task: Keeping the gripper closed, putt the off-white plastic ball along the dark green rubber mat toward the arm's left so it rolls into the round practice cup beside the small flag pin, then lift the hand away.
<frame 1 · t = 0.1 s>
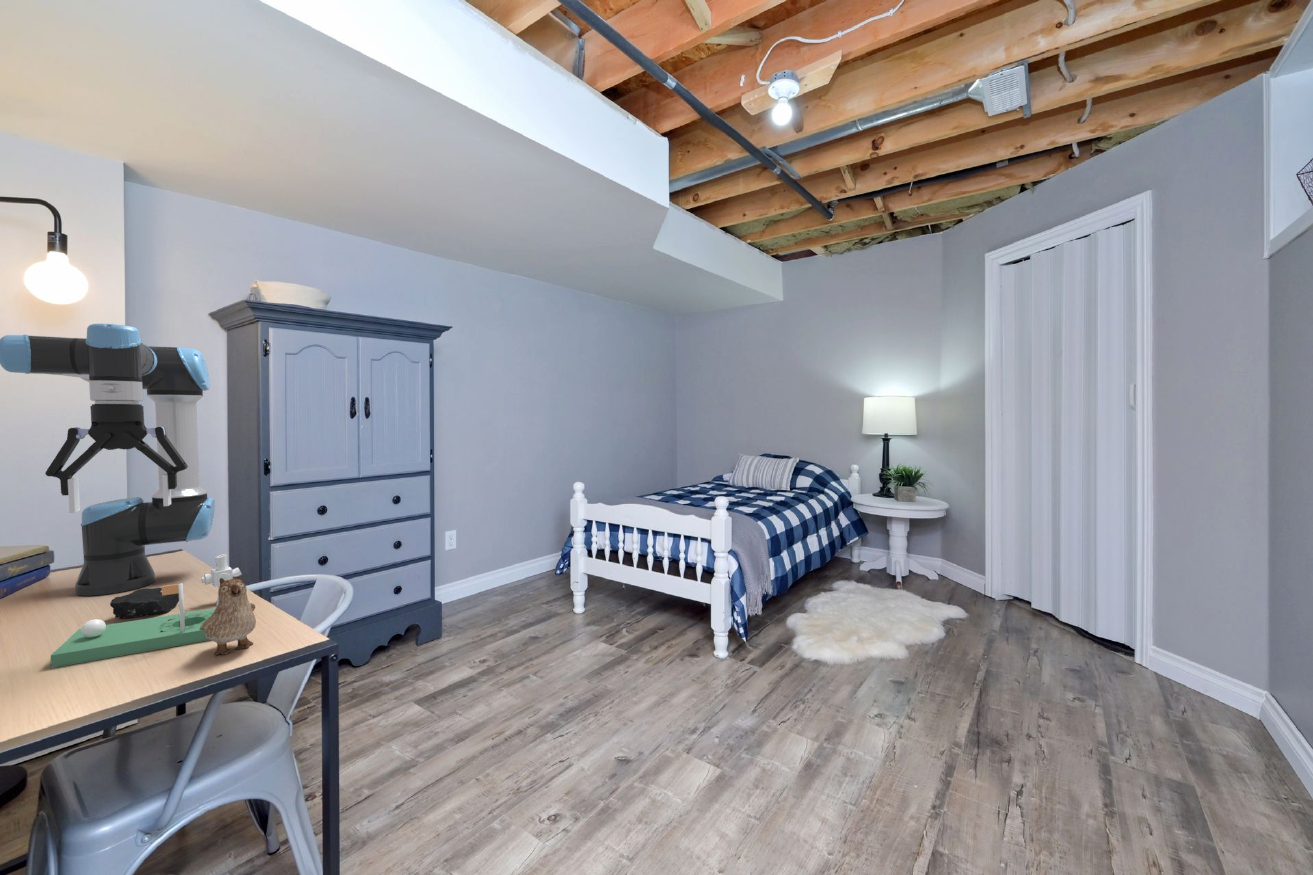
hand: (122, 508, 109), 28 cm above the table, fingers open, 13 cm apart
rock: (147, 615, 126), on the table
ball: (93, 628, 108), point 4 cm above the table, touching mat
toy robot: (223, 603, 134), on the table
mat: (148, 639, 112), on the table
figurine: (230, 651, 107), on the table
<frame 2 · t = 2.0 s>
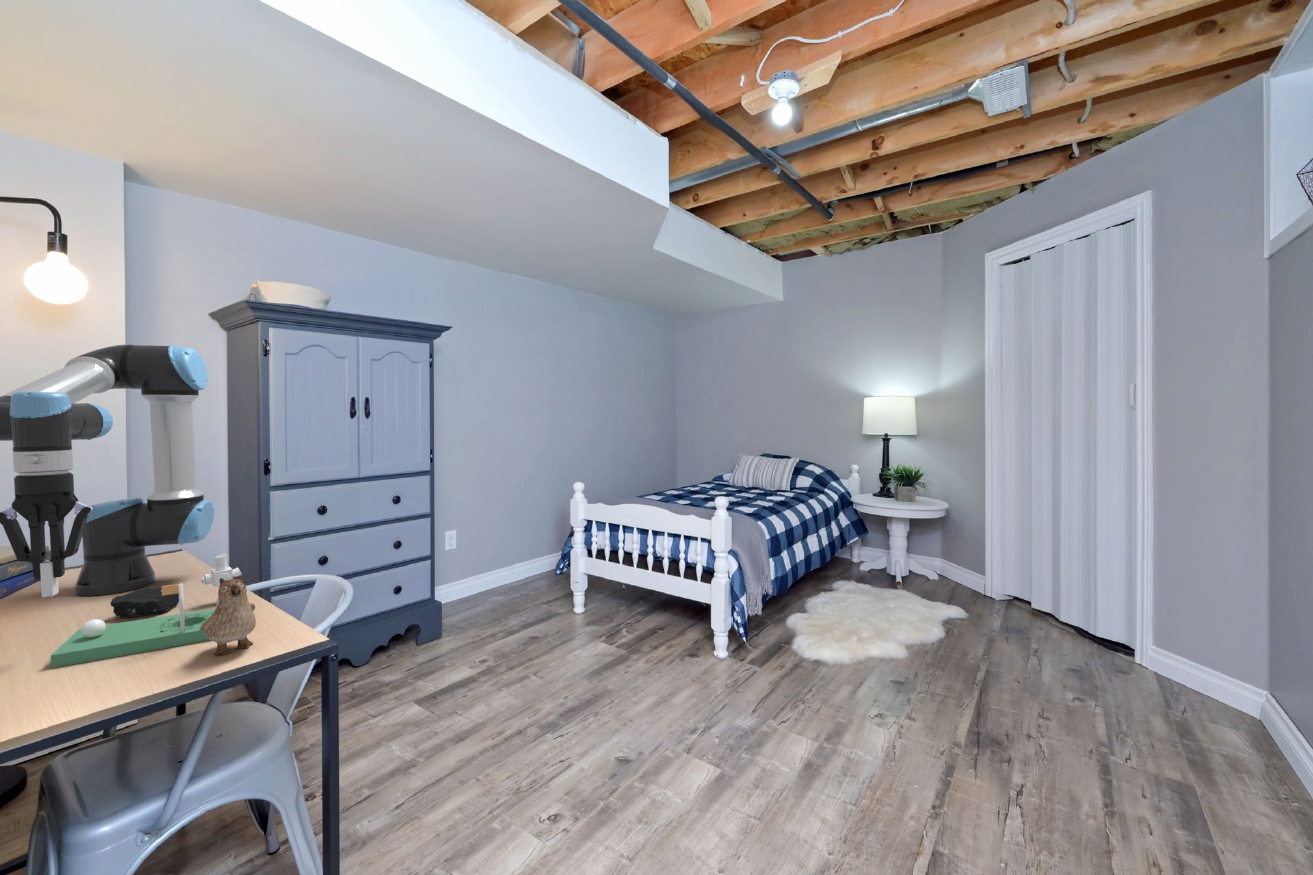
hand: (50, 594, 104), 12 cm above the table, fingers closed
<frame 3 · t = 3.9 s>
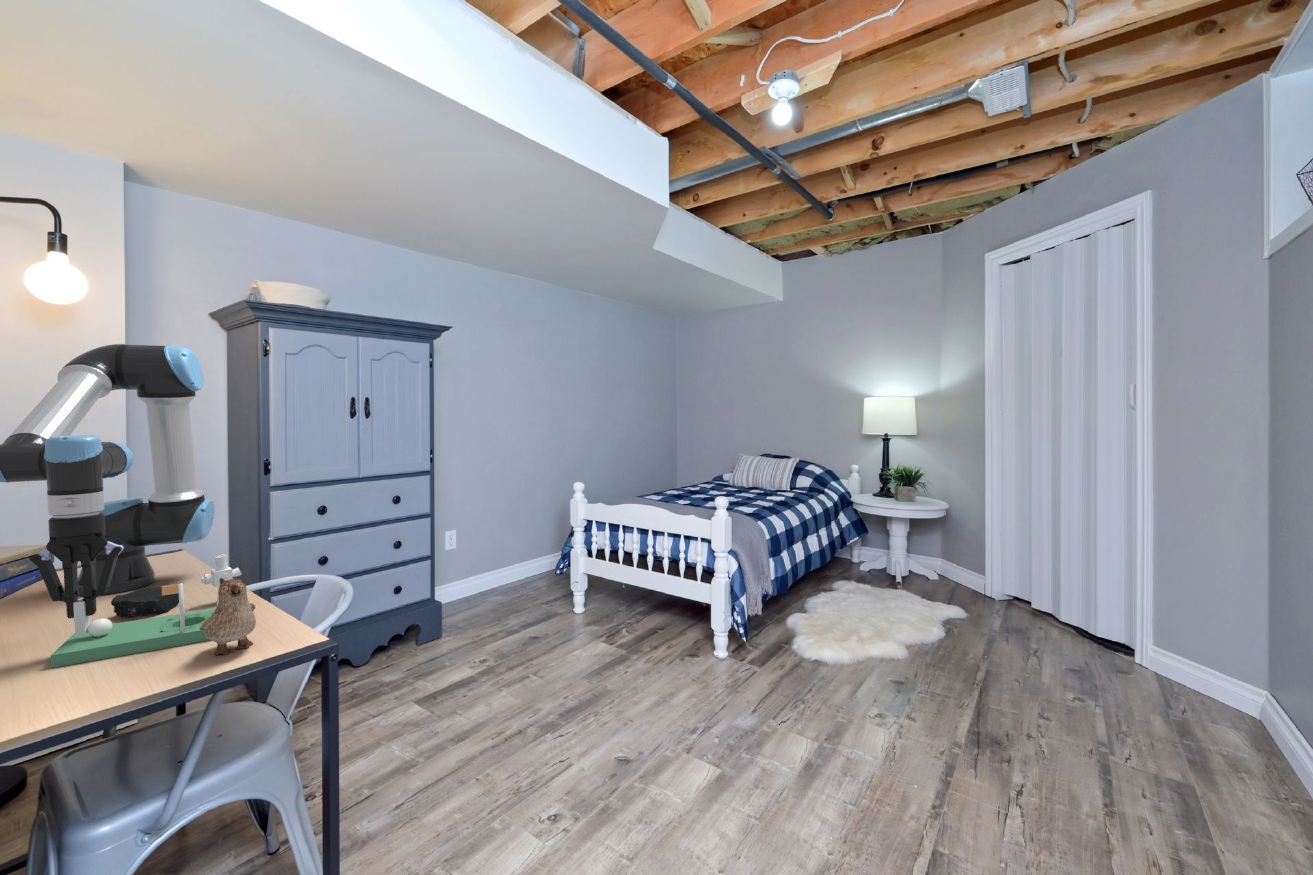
hand: (82, 632, 107), 4 cm above the table, fingers closed
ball: (100, 627, 108), point 4 cm above the table, tilted 29°, touching gripper, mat
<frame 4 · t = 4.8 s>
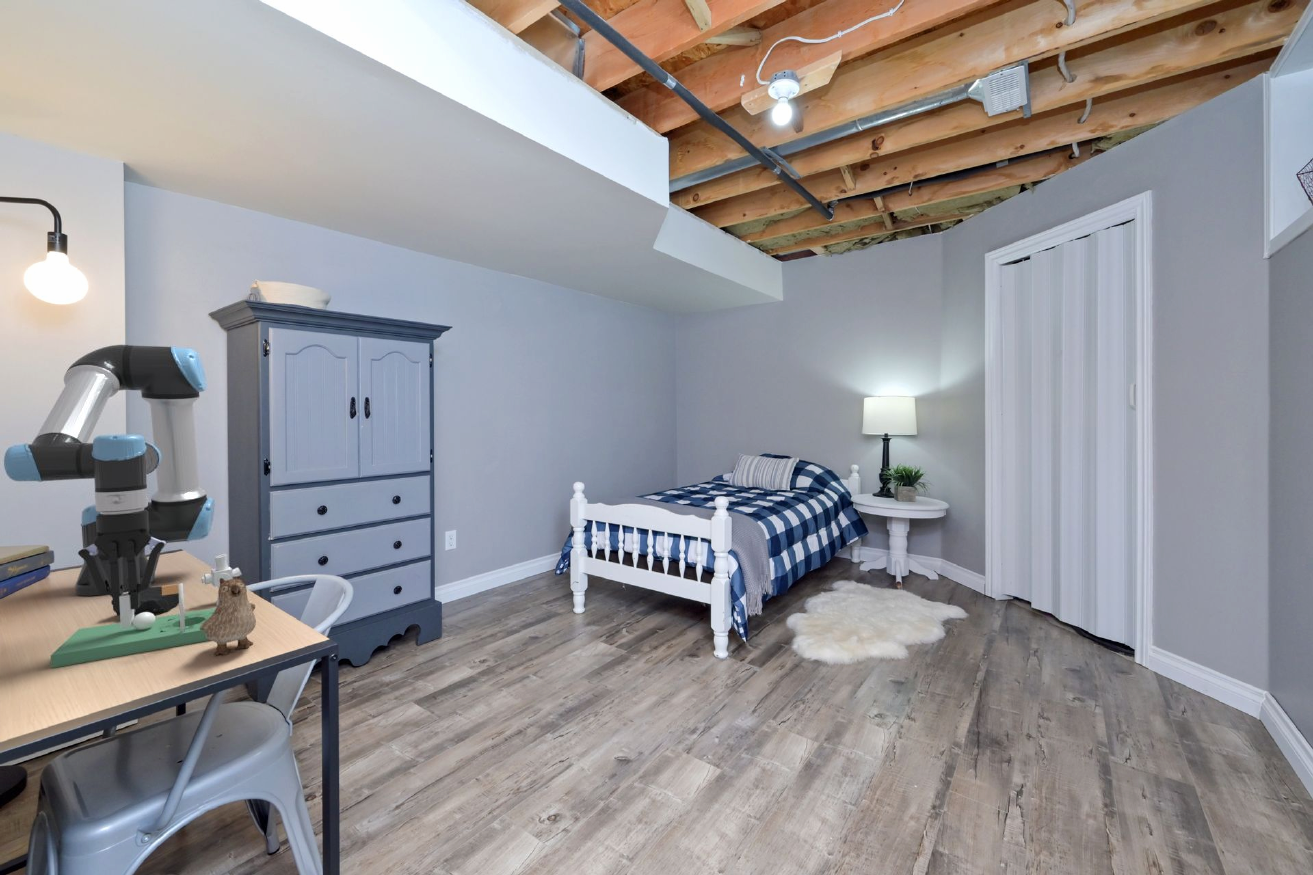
hand: (127, 625, 110), 4 cm above the table, fingers closed
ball: (144, 620, 112), point 4 cm above the table, tilted 152°, touching gripper, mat
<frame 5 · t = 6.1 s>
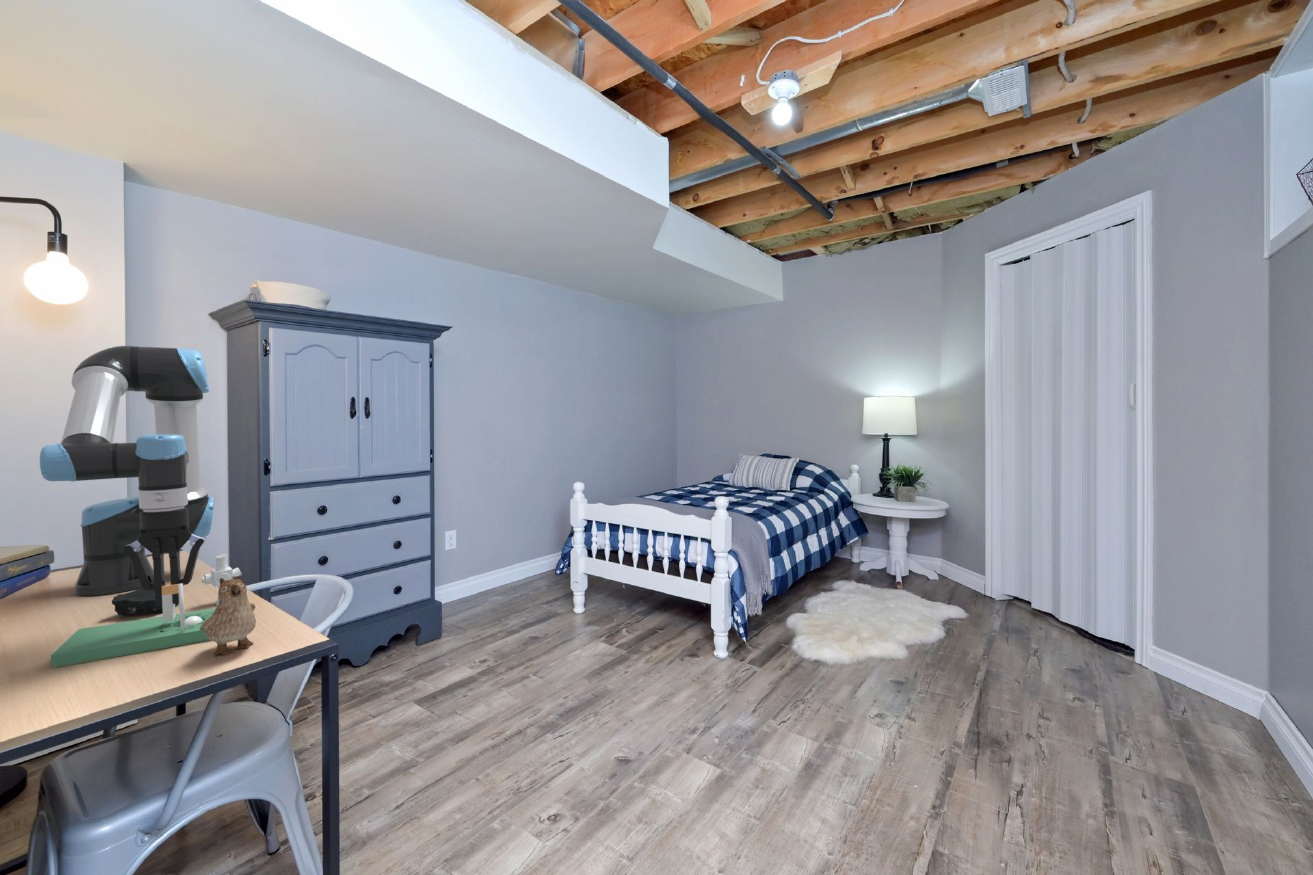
hand: (169, 619, 114), 4 cm above the table, fingers closed
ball: (192, 624, 116), point 2 cm above the table, tilted 106°
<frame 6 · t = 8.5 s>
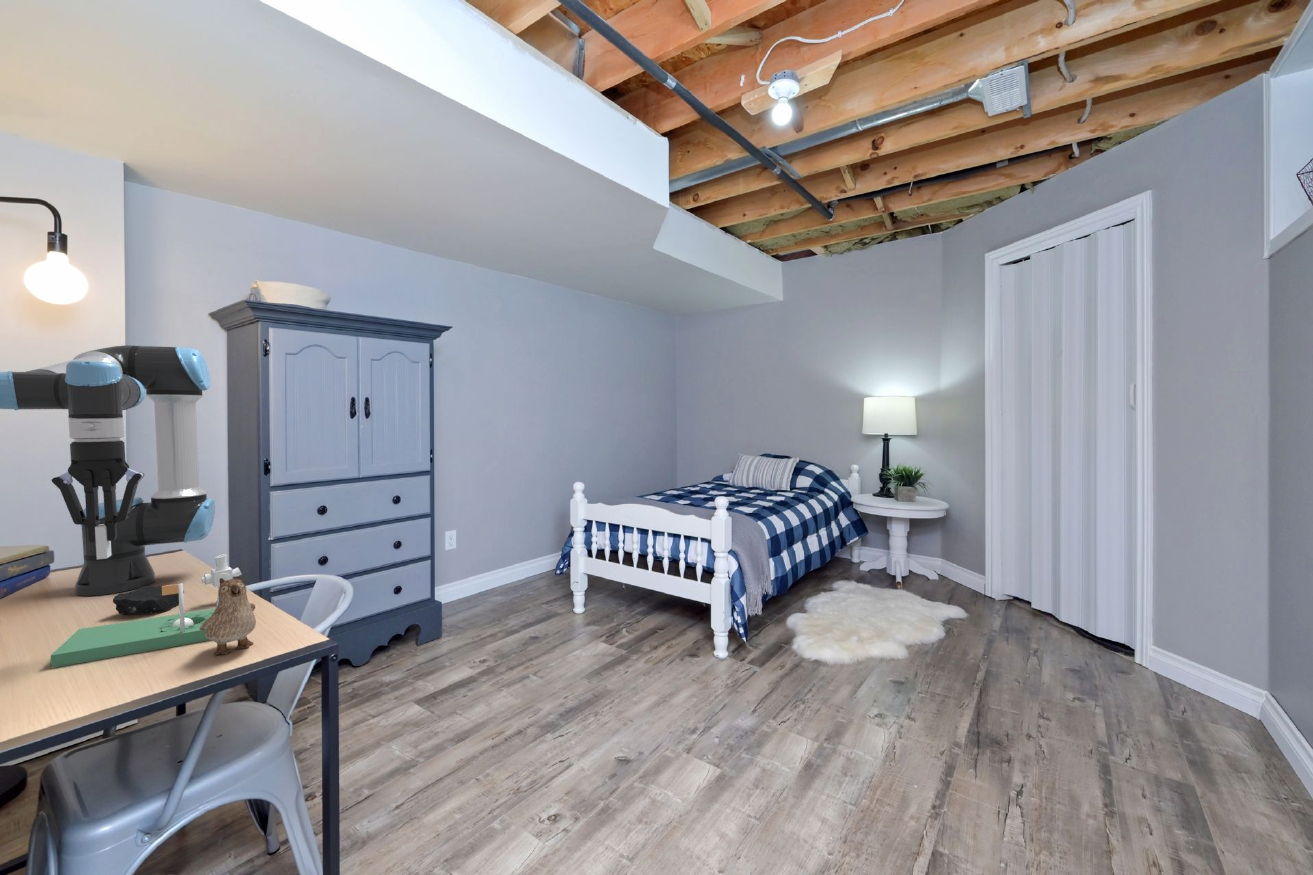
hand: (104, 557, 108), 18 cm above the table, fingers closed
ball: (182, 626, 115), point 2 cm above the table, tilted 54°
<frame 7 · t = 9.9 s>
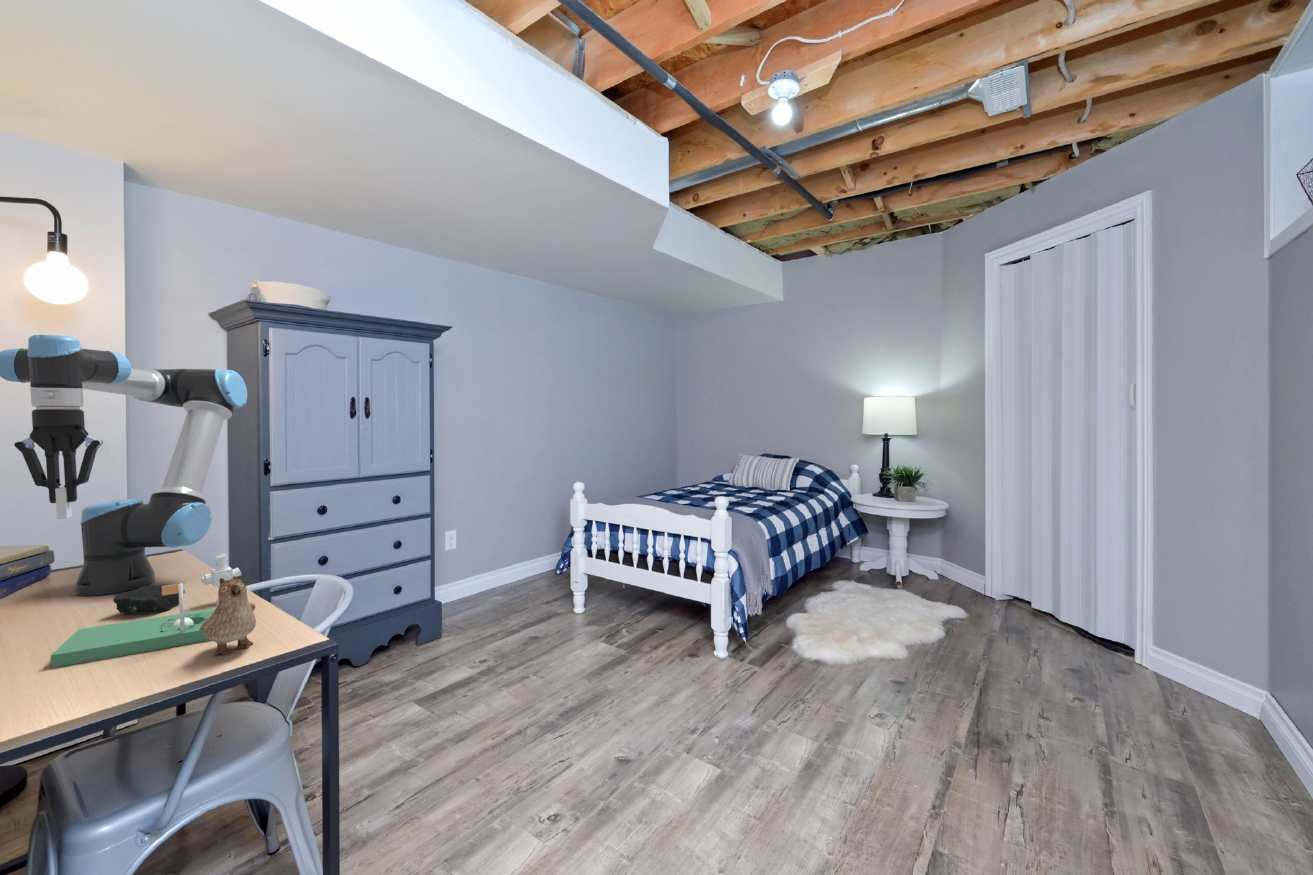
hand: (64, 517, 117), 24 cm above the table, fingers closed
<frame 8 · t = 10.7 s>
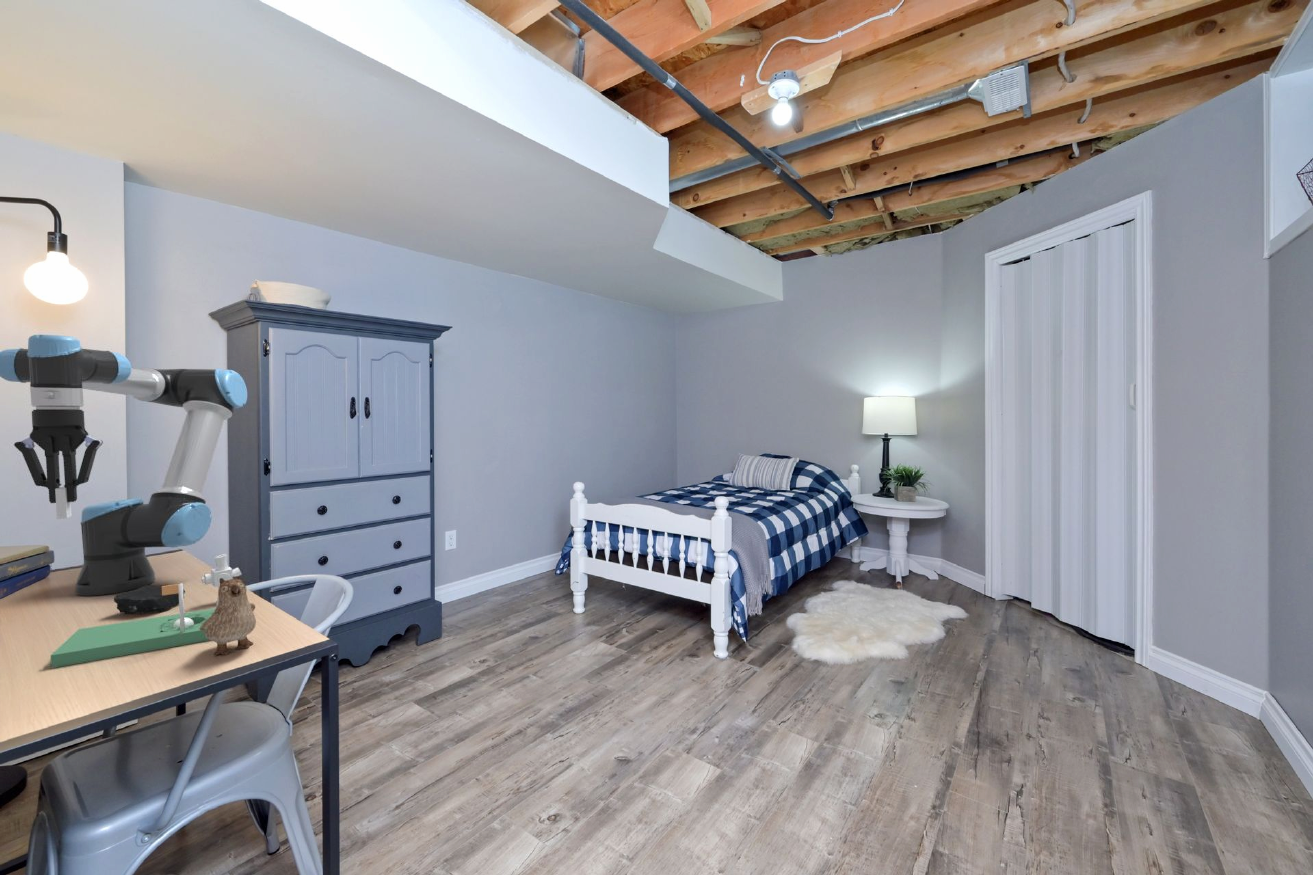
hand: (64, 517, 117), 24 cm above the table, fingers closed
at the end: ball 0.9 cm from the target spot in the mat, point 1.7 cm above the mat's base; the gripper is holding nothing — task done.
